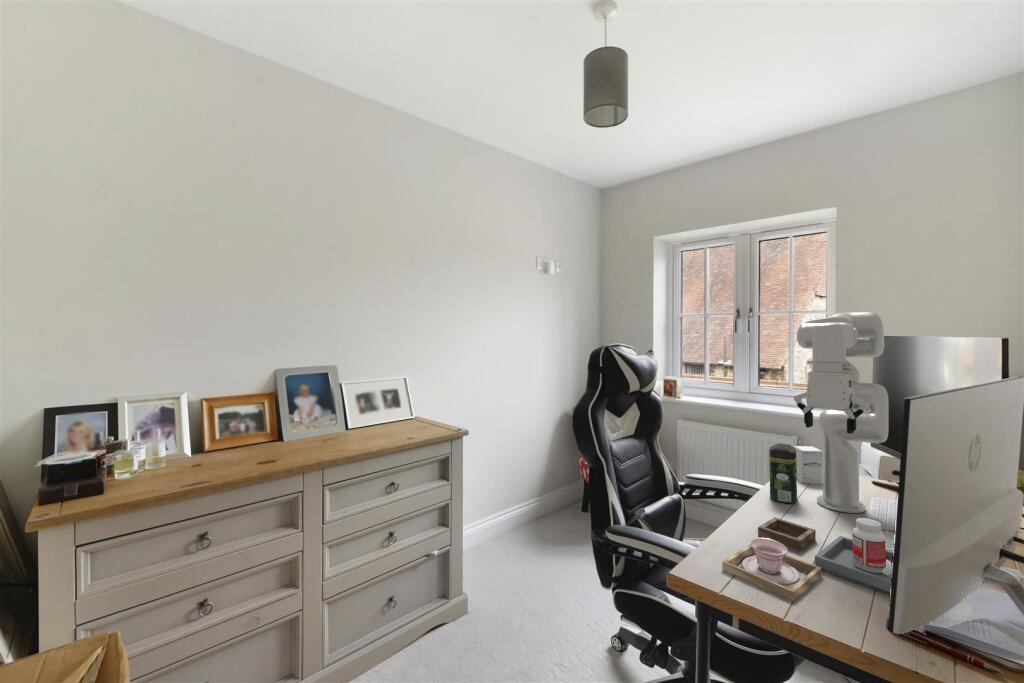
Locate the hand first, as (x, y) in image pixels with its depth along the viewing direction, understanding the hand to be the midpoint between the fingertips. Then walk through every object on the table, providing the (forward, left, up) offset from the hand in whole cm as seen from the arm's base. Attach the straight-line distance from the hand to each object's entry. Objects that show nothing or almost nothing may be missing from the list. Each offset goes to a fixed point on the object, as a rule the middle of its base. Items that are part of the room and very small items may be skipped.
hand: (829, 429), depth 120 cm
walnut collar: (+10, -7, -30) cm, 33 cm away
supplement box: (-46, -22, -31) cm, 59 cm away
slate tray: (+12, +12, -30) cm, 35 cm away
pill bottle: (+12, +12, -30) cm, 34 cm away
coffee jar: (-20, -20, -31) cm, 42 cm away
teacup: (+30, -3, -31) cm, 43 cm away
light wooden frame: (+31, -2, -30) cm, 43 cm away
